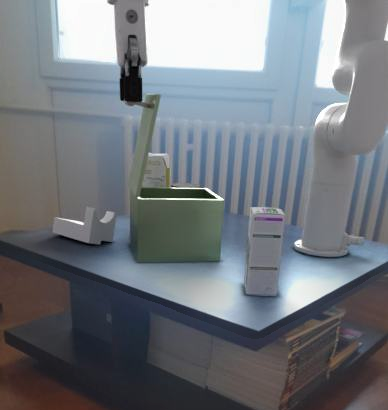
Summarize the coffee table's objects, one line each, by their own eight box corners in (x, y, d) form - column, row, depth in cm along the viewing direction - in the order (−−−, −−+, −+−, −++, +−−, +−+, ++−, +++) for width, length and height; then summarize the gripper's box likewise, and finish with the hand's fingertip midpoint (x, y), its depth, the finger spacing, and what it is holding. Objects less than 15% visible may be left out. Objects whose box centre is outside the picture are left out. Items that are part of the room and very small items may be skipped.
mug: (182, 228, 132) (183, 189, 128) (158, 223, 136) (159, 185, 132) (204, 222, 140) (206, 185, 136) (181, 217, 144) (182, 181, 140)
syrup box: (277, 296, 89) (288, 214, 82) (244, 295, 89) (252, 212, 82) (273, 286, 94) (283, 207, 88) (242, 284, 94) (249, 205, 88)
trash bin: (203, 243, 120) (207, 188, 114) (219, 261, 107) (224, 200, 101) (130, 244, 116) (129, 186, 110) (137, 262, 103) (137, 199, 97)
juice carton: (162, 239, 121) (164, 156, 113) (128, 235, 123) (128, 153, 115) (170, 232, 128) (173, 153, 120) (138, 229, 129) (138, 150, 121)
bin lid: (149, 95, 103) (124, 87, 101) (161, 95, 90) (131, 86, 89) (131, 185, 110) (107, 179, 108) (139, 197, 97) (111, 190, 96)
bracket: (111, 246, 117) (117, 213, 115) (88, 243, 111) (94, 208, 110) (75, 235, 124) (80, 204, 122) (52, 232, 118) (56, 199, 117)
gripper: (156, -14, 82) (156, 102, 89) (143, 3, 97) (144, 101, 105) (110, -17, 80) (114, 101, 88) (104, 0, 95) (108, 100, 103)
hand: (130, 101), depth 96 cm, fingers open, 9 cm apart
